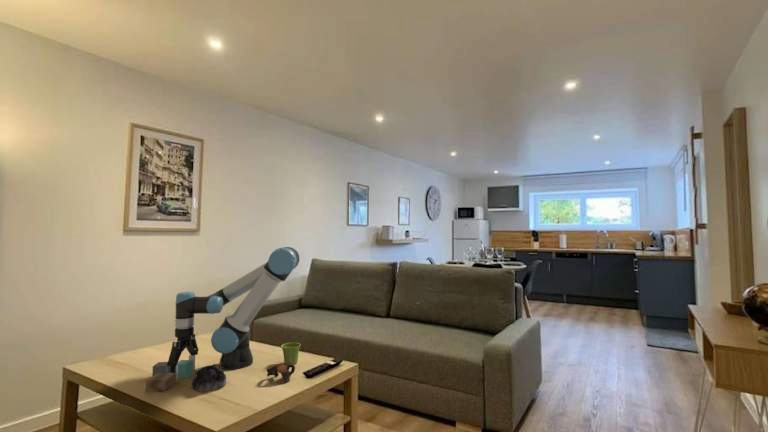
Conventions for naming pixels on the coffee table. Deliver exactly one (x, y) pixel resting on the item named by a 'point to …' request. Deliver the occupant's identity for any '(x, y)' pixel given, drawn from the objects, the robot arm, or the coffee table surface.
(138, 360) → the coffee table surface
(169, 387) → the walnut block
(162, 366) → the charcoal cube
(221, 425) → the coffee table surface
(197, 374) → the crystal cluster
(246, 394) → the coffee table surface
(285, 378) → the brown animal figurine
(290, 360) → the plant pot
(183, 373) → the teal cube
